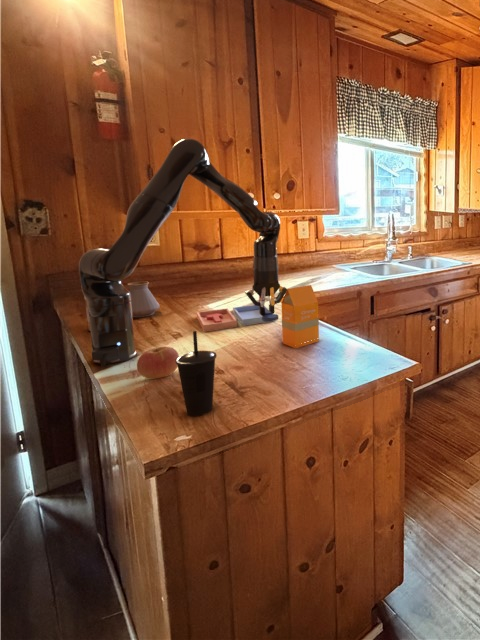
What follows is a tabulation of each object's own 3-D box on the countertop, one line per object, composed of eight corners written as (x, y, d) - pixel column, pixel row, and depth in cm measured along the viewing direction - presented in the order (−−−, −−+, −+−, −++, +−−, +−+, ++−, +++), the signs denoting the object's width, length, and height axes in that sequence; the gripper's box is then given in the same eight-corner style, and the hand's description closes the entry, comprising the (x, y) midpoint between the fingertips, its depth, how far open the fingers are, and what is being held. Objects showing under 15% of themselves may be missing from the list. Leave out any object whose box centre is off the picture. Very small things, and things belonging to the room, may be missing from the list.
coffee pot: (159, 308, 170) (156, 273, 167) (161, 315, 161) (158, 279, 159) (85, 317, 155) (81, 279, 153) (83, 325, 147) (79, 285, 145)
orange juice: (319, 341, 145) (318, 286, 142) (295, 348, 137) (293, 290, 134) (306, 336, 148) (304, 283, 146) (282, 343, 141) (280, 287, 138)
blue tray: (272, 321, 162) (272, 315, 162) (242, 325, 155) (242, 319, 155) (261, 309, 176) (260, 304, 176) (233, 313, 169) (232, 307, 169)
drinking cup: (226, 403, 101) (222, 326, 98) (204, 420, 94) (199, 337, 91) (195, 402, 101) (190, 325, 98) (170, 419, 93) (164, 336, 90)
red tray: (237, 326, 154) (236, 320, 154) (203, 331, 147) (203, 325, 147) (227, 314, 168) (227, 308, 168) (196, 318, 161) (196, 312, 161)
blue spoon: (255, 312, 149) (255, 308, 149) (270, 310, 153) (270, 306, 152) (263, 322, 140) (263, 317, 139) (280, 320, 143) (279, 315, 143)
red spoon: (227, 324, 155) (226, 319, 154) (210, 326, 151) (210, 322, 151) (220, 315, 164) (220, 311, 164) (205, 317, 161) (205, 313, 161)
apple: (182, 376, 114) (181, 349, 112) (140, 386, 107) (137, 357, 106) (176, 366, 119) (174, 340, 118) (135, 375, 113) (133, 348, 112)
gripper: (245, 271, 137) (247, 321, 139) (290, 268, 146) (291, 315, 148) (240, 268, 142) (242, 316, 144) (284, 265, 151) (285, 310, 154)
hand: (267, 315), depth 146 cm, fingers closed on blue spoon, 2 cm apart
